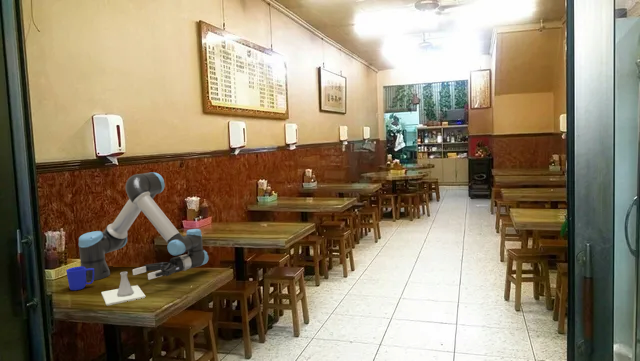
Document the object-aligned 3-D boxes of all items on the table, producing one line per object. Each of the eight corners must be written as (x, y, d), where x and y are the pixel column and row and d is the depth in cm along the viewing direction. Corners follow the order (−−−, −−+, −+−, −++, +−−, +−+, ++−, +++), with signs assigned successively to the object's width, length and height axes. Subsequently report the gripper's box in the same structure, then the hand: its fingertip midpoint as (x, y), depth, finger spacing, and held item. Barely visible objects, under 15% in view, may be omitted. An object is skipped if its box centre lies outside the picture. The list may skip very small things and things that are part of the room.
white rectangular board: (101, 293, 214) (101, 292, 214) (137, 286, 222) (137, 285, 222) (106, 305, 197) (106, 304, 197) (145, 297, 205) (145, 296, 205)
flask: (115, 297, 205) (113, 275, 204) (119, 292, 212) (117, 271, 211) (132, 295, 206) (130, 274, 205) (135, 290, 213) (133, 269, 212)
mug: (94, 288, 222) (92, 268, 221) (66, 292, 218) (64, 272, 217) (97, 284, 230) (95, 264, 229) (70, 287, 226) (68, 267, 225)
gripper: (195, 274, 223) (155, 286, 207) (166, 267, 239) (127, 278, 223) (194, 259, 223) (154, 270, 206) (165, 253, 238) (126, 263, 222)
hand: (140, 274), depth 214 cm, fingers open, 13 cm apart
